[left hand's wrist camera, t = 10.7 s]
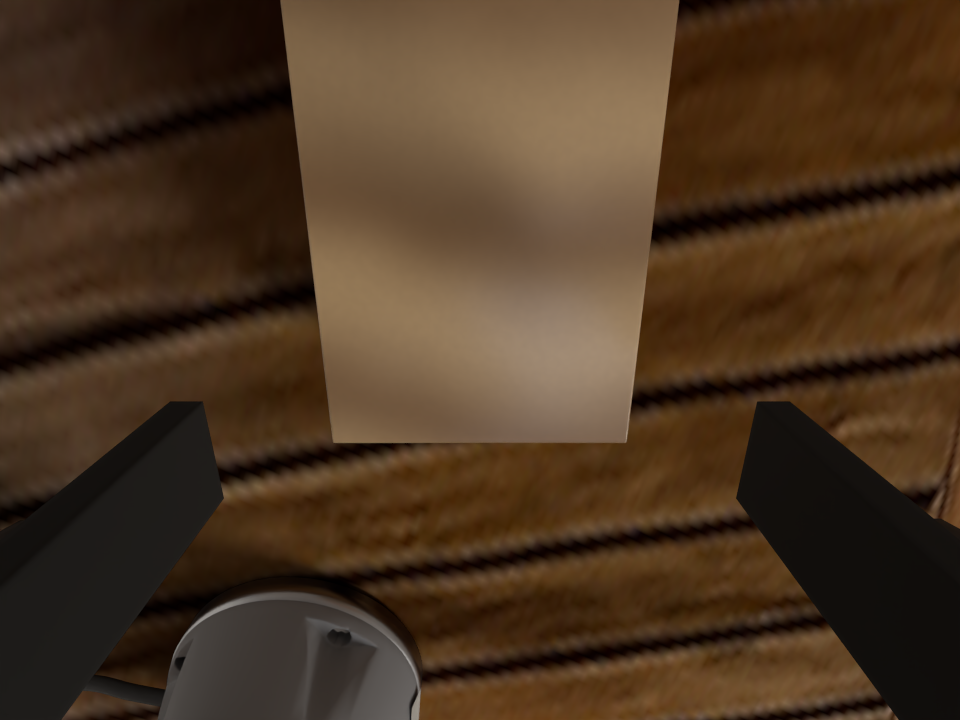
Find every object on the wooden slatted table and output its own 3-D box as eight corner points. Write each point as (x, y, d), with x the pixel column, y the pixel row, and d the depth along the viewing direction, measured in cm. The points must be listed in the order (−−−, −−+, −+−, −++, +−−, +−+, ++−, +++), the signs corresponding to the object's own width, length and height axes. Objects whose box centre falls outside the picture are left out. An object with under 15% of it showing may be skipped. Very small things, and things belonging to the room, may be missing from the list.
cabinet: (341, -26, 20) (265, -123, 13) (618, -26, 20) (695, -123, 13) (373, 362, 26) (332, 443, 19) (586, 362, 26) (627, 443, 19)
